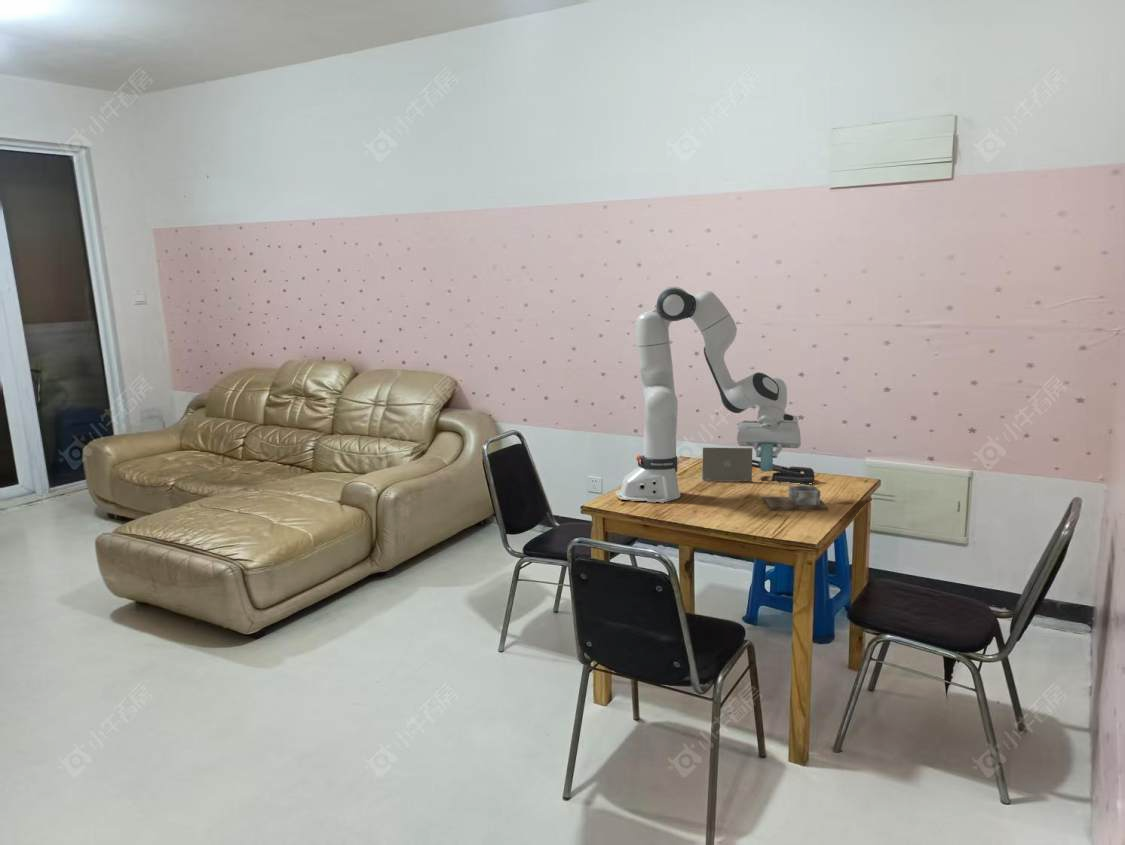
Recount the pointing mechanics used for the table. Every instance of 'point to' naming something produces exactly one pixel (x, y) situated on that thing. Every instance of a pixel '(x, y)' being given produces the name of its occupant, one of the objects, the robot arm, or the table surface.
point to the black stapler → (790, 473)
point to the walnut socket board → (797, 499)
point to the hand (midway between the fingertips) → (766, 456)
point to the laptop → (727, 464)
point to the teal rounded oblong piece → (766, 457)
